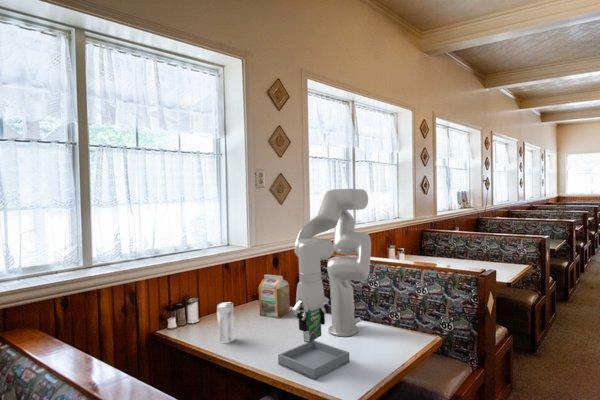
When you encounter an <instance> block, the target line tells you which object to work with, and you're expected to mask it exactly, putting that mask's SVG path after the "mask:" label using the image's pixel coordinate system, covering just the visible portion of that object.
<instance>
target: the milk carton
mask: <svg viewBox="0 0 600 400" xmlns="http://www.w3.org/2000/svg"><path fill="white" fill-rule="evenodd" d="M263 277H264V278H262V279H261V282H260V283H259V285H258V302H259V303H258V304H259V305H258V306H259V307H258V308H259V317H265V318H272V319H280V318H282V317H284V316H285V315H288V314H290V312H291V308H290V307H291V305H290V303H291V302H290V284H289V283H288V281H287V280H286V279H283V276H282V275H275V274H264V276H263Z"/></svg>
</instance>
